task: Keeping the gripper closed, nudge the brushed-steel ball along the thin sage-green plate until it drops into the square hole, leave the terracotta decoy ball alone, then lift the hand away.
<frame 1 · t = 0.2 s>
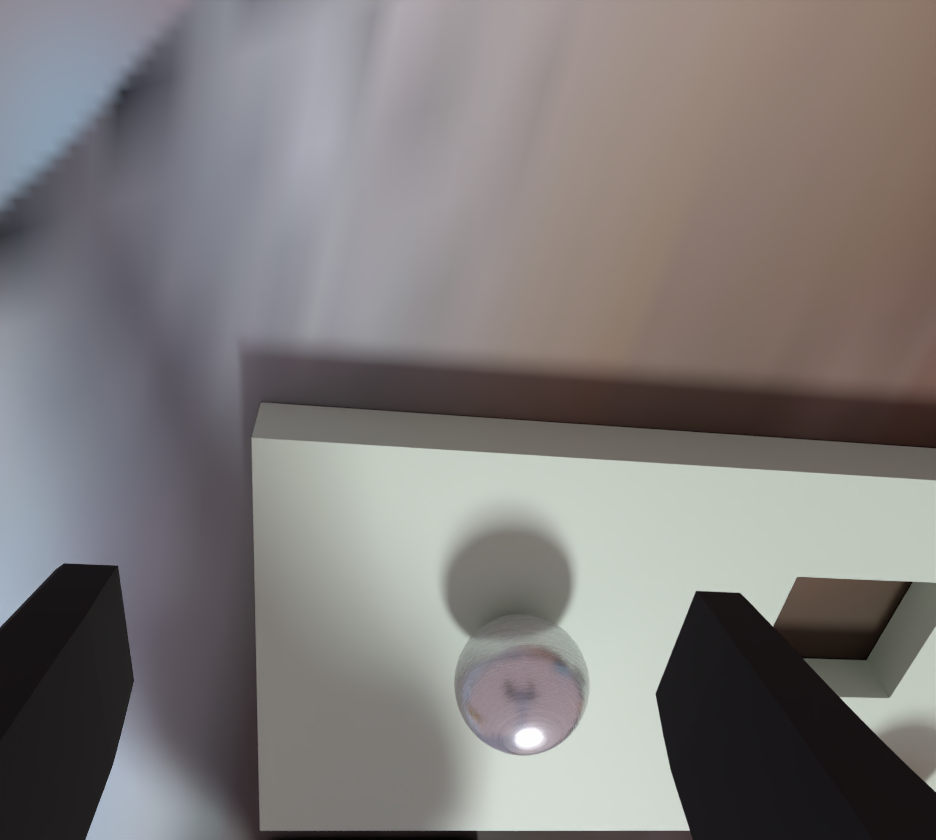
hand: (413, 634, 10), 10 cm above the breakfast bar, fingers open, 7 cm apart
steel ball: (521, 682, 21), point 3 cm above the breakfast bar, touching hole plate
hole plate: (653, 643, 25), on the breakfast bar
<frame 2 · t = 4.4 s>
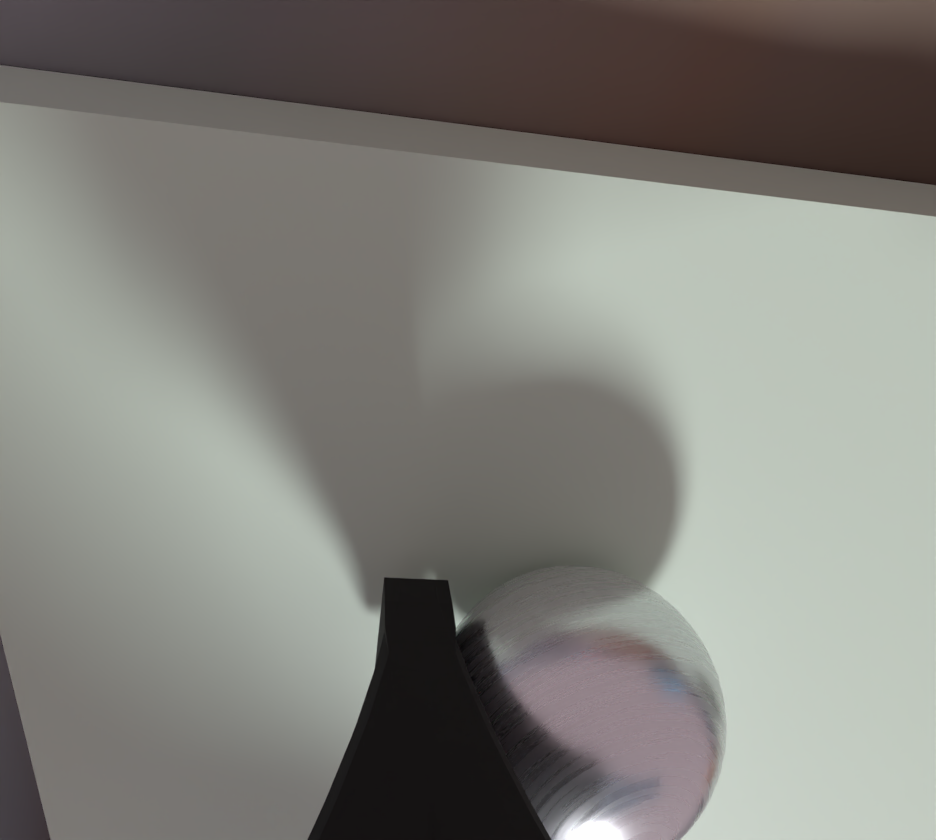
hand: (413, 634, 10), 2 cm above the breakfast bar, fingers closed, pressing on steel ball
steel ball: (575, 711, 10), point 3 cm above the breakfast bar, tilted 12°, touching gripper, hole plate
hole plate: (772, 640, 14), on the breakfast bar
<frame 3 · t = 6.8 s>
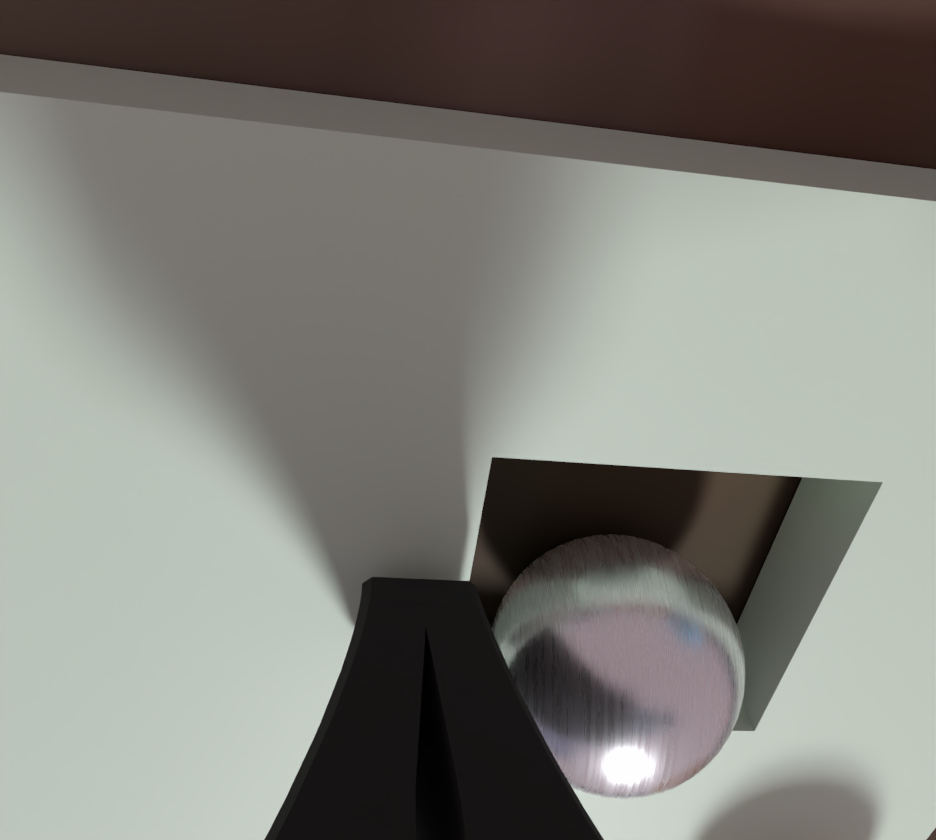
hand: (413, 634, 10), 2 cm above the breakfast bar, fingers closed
steel ball: (613, 660, 11), point 2 cm above the breakfast bar, tilted 95°
hole plate: (286, 621, 13), on the breakfast bar
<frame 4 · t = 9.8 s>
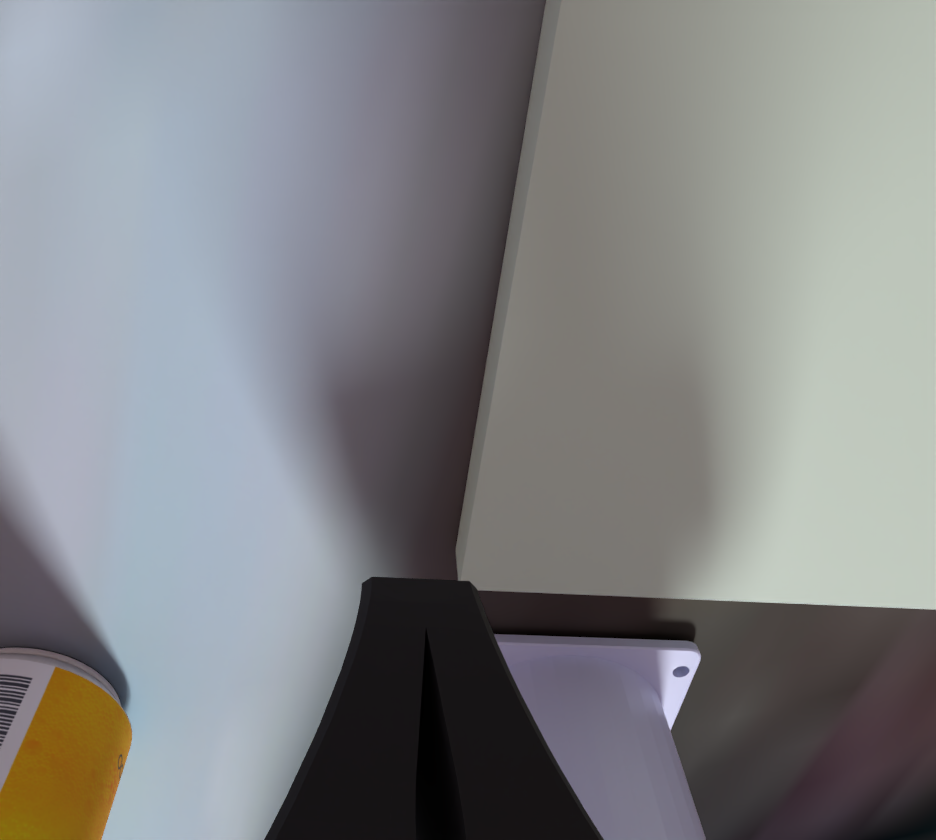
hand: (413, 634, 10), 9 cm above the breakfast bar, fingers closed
beer can: (37, 698, 24), on the breakfast bar
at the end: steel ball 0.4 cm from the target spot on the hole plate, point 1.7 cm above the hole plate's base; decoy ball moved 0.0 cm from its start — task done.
